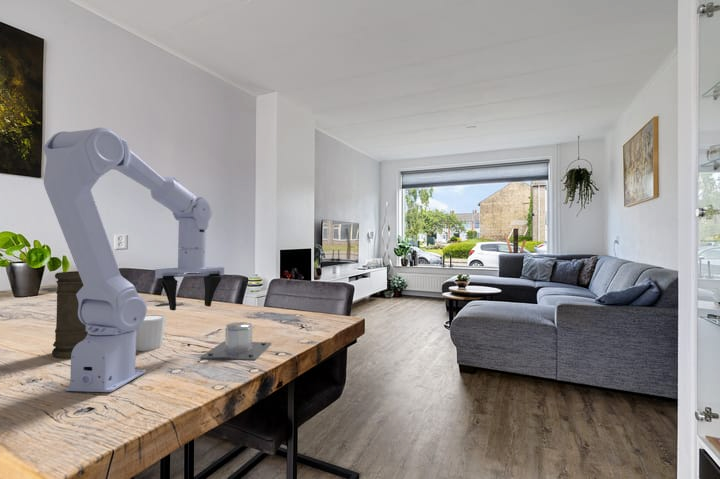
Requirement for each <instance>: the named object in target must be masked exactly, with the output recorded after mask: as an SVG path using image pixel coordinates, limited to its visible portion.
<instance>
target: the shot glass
mask: <svg viewBox="0 0 720 479" xmlns="http://www.w3.org/2000/svg"><path fill="white" fill-rule="evenodd" d="M165 324H166V316H165V315H157V314H156V315H155V314H152V315H146V316H145V319H144V320H143V322H142V323H141V324H140V325H139V329H138V330H136V351H139V352H142V351H143V352H145V351H146V352H147V351H152V350H157V349H159V348H162V347H163V342H164V332H165Z"/></svg>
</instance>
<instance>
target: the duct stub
mask: <svg viewBox="0 0 720 479" xmlns="http://www.w3.org/2000/svg"><path fill="white" fill-rule="evenodd" d="M271 345H272V342H264V341H261V342H260V341H252V349H251V350H249V351H247V352H241V353H229V352H227V351H226V350H225V341H222V342H221V343H219V344H218V345H216V346H215V347H213V348H211V349H210V350H208V351H207V352H205V353H203V354H202V355H201V356H200V359H207V360H208V359H211V360H240V361H241V360H243V361H244V360H247V361H249V360H250V361H256V360H257V359H258V358H260V356H261V355H262V354H263V353H265V351H266V350H268V348H269V347H270V346H271Z"/></svg>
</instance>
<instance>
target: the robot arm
mask: <svg viewBox="0 0 720 479" xmlns="http://www.w3.org/2000/svg"><path fill="white" fill-rule="evenodd" d="M42 150H43V154H44V155H45V157H46V158H45V159H46V160H45V169H44V175H43V186H44V188H45V191H46V194H47V196H48V199H49V202H50V205H51V207H52V209H53V211H54V215H55V217H56V219H57V221H58V222H57V223H58V225H59V227H60V230H61V231H62V234H63V236H64V239H65V241H66V245H67V247H68V249H69V252H70V255H71V257H72V259H73V263H74V264H75V267H76V269H77V270H76V271H78V272H79V275H80V277H81V280H82V282H83V285H84V286H83V287H82V288H81V289H80V290H79V291H78V293H77V294H76V296H77V299H78V302H79V307H78V317H79V319H80V321H81V322H82V323H83V324H84V325H86V331H88V334H87V336H86V338H85V339H84V340H83V341H81V342H79V343H78V344H77V345H76V346H75V347H74V348H73V350H72V354H71V358H70V382H69V383H70V384H69V386H67V387H65V389H64V391H65V392H87V393H89V392H90V393H91V392H92V393H94V392H95V393H112V392H114V391H115V390H117V389H119V388H120V387H122V386H125V385H126V384H128V383H129V382H131V381H133V380H136V379H137V378H138V377H140V376H142V375H144V374H146V373H147V369H139V368H137V369H136V355H137V354H136V351H137V350H136V330H138V329H139V325H140V324H141V323H142V322H143V320H144V319H145V316H147V312H148V308H147V302H146V301H145V299H144V298H143V297H142V296H140V294H139V293H138V291H137V289H136V287H135V285H134V284H133V283H132V282H131V281H129V280H128V279H126V278H125V277H123V275H122V274H121V271H120V269H119V266H118V263H117V261H116V258H115V255H114V251H113V250H112V246H111V243H110V240H109V238H108V236H107V232H106V229H105V226H104V224H103V222H102V219H101V214H100V213H99V209H98V206H97V204H96V201H95V199H94V196H93V193H92V189H93V187H94V186H95V184H96V183H97V182H98V180H99V179H100V178H101V177H102V176H104V175H106V173H108V172H110V171H111V170H115V171H118V172H119V173H121V174H123V175H124V176H126V177H127V178H129V179H131V180H133V181H134V182H136V183H138V184H139V185H141V186H143V187H145V188H146V189H148V190H150V195H151V198H152V199H153V200H154V201H155V202H157V203H159V204H160V205H162V206H164V207H165V208H166V209H168V210H170V211H171V212H172V215H173V218H174V220H176V221H178V236H177V237H178V239H177V240H178V242H177V243H178V244H177V245H178V246H177V248H178V249H177V267H168V268H167V267H166V268H155V270H154V271H155V272H154V274H155V276H154V277H155V279H159V282H160V284H161V286H162V287H163V290H164V293H165V294H166V298H167V302H168V305H169V306H168V307H169V310H170V311H176V310H177V288H178V282H179V281H178V280H177V279H176V278H184V277H186V278H187V277H203V282H204V306H205V307H211V305H212V301H213V299H214V296H215V292H216V290H217V288H218V286H219V284H220V282H221V280H222V276H224V275H225V267H224V266H206V240H207V238H206V236H207V231H206V230H208V227H209V221H210V219H211V218H212V215H213V210H212V207H211V204H210V202H209V201H208V200H207V199H206V198H204V197H202V196H196V195H195V194H194V193H193V191H191V190H189V189H187V188H186V187H184V186H183V185H181V184H180V183H179V180H178V179H177V178H176V177H170V176H161V175H160V174H159V173H158V172H156V171H155V170H154V169H153V168H152V167H151V166H150V165H148V164H147V163H146V162H145V161H144V160H142V159H141V158H140V156H138V155H137V154H136V153H134V152H133V151H132V150H131V149H130V146H129V144H128V141H127V140H126V139H123V138H121V137H119V135H118V134H117V133H116V132H115V131H113V130H112V129H109V128H107V127H103V126H102V127H99V126H98V127H94V128H92V129H81V130H74V131H58V132H56V133H54V134H53V135H52V136H51V137H50V138H49V139H48V140H47V142H46V143H45V144H44V145H42Z"/></svg>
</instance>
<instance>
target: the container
mask: <svg viewBox="0 0 720 479" xmlns="http://www.w3.org/2000/svg"><path fill="white" fill-rule="evenodd" d="M54 278H55V279H56V284H57V289H56V290H57V291H56V322H55V323H56V324H55V330H54V333H55V339H54V342H53V344H52V346H53V347H54V348H53V349H52V350H51V355H52V356H53V357H54V358H58V359H71V354H72V350H73V348H74V347H75V346H76V345H77V344H78V343H79V342H81V341H83V340H84V339H85V338H86V336H87V334H88V331H86V325H84V324H83V323H82V322H81V321H80V319H79V317H78V307H79V302H78V299H77V296H76V294H77V293H78V291H79V290H80V289H81V288H82V287H83V286H84V285H83V282H82V280H81V277H80V275H79V272H78V270H76V271H60V272H56V273H55V274H54Z"/></svg>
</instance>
